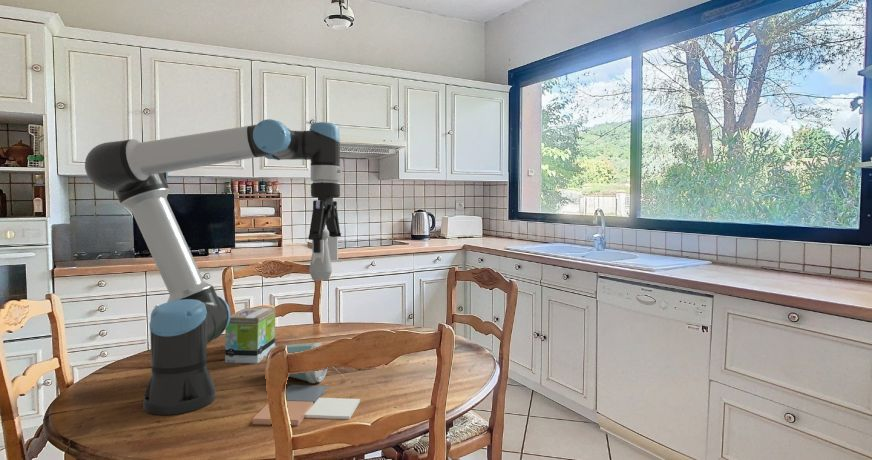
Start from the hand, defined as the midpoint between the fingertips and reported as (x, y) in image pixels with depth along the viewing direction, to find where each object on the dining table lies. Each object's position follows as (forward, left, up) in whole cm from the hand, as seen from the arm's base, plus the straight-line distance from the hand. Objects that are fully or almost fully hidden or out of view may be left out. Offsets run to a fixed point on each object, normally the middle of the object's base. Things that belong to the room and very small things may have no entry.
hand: (325, 262), depth 132 cm
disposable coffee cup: (-15, 0, -26) cm, 31 cm away
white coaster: (+7, -19, -32) cm, 38 cm away
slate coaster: (-3, -11, -32) cm, 34 cm away
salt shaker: (0, -5, -4) cm, 6 cm away
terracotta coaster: (-3, -23, -32) cm, 39 cm away
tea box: (-28, +16, -32) cm, 45 cm away
